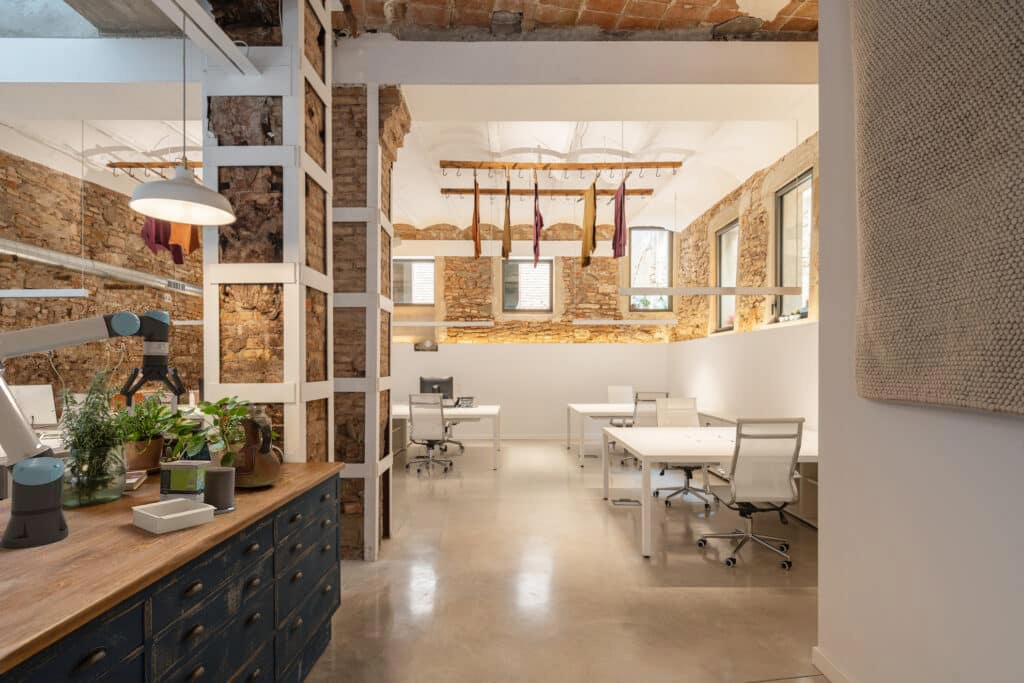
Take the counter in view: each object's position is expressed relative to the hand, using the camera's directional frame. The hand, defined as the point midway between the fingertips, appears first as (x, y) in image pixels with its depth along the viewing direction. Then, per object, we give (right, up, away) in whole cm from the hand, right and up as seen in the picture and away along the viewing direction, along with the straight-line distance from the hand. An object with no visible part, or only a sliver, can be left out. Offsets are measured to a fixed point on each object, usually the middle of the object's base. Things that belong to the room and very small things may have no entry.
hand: (153, 415), depth 195 cm
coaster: (+20, -35, +5) cm, 41 cm away
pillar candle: (+20, -34, +5) cm, 40 cm away
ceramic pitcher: (+17, -37, +42) cm, 58 cm away
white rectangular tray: (+14, -34, -11) cm, 39 cm away
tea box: (+1, -35, +18) cm, 40 cm away
